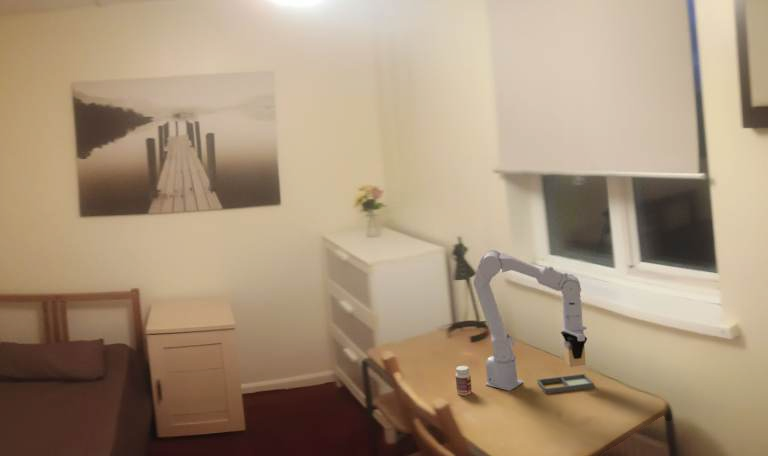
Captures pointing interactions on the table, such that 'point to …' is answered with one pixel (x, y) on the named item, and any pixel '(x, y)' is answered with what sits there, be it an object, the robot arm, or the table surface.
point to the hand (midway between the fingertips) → (575, 355)
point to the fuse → (570, 358)
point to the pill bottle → (463, 380)
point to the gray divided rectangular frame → (566, 383)
